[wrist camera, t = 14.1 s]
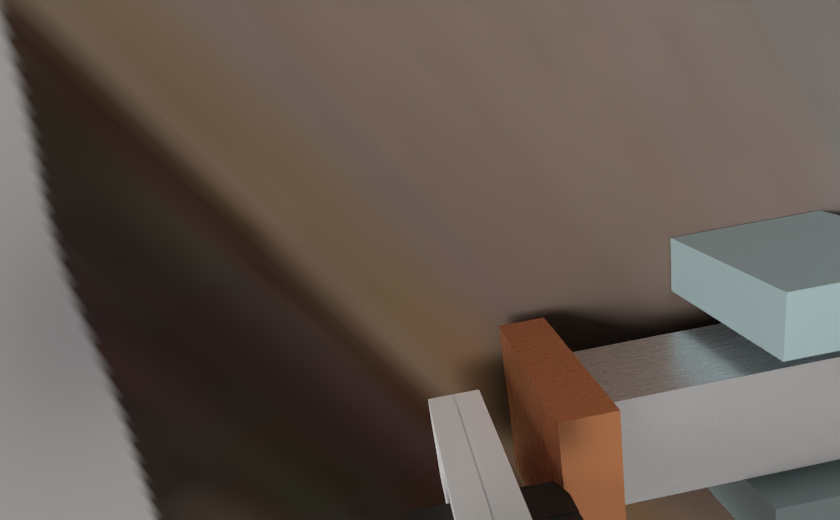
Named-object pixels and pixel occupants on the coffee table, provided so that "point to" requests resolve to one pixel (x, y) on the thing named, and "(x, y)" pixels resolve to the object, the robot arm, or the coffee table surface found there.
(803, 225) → the press
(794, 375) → the ram
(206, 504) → the coffee table surface
